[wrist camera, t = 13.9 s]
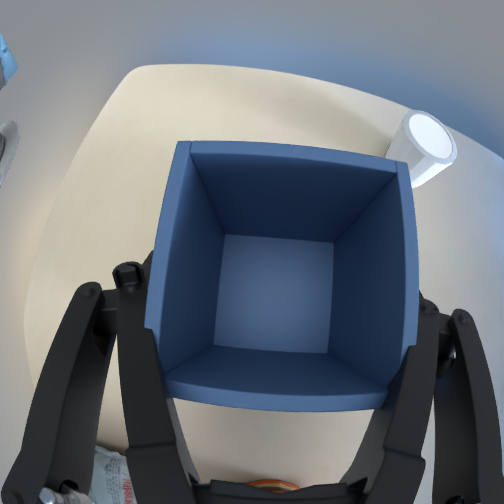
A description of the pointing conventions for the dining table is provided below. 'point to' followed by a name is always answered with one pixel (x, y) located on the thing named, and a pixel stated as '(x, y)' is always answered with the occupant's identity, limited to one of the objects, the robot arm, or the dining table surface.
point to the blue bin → (283, 276)
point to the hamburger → (274, 485)
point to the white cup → (422, 146)
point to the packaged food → (111, 479)
